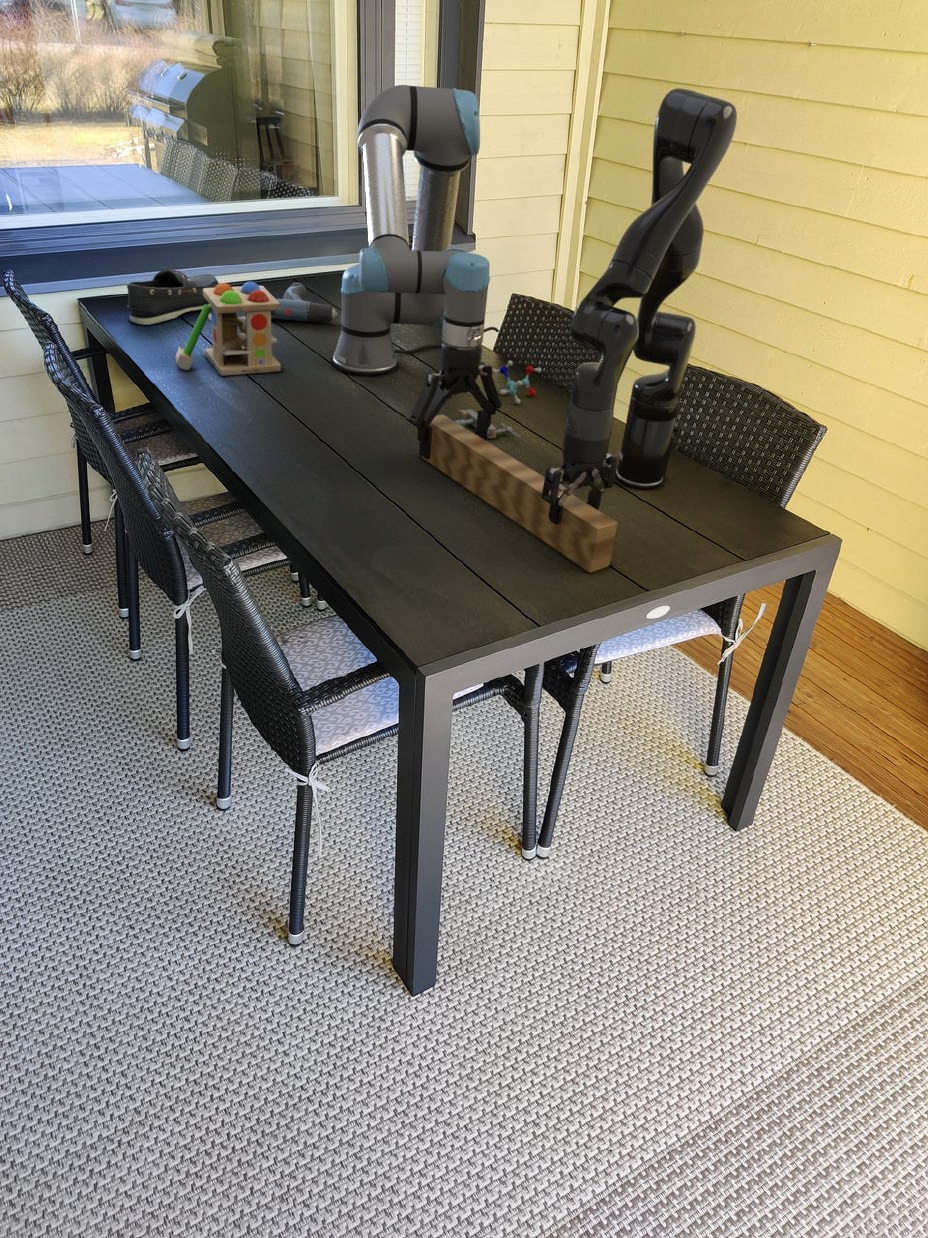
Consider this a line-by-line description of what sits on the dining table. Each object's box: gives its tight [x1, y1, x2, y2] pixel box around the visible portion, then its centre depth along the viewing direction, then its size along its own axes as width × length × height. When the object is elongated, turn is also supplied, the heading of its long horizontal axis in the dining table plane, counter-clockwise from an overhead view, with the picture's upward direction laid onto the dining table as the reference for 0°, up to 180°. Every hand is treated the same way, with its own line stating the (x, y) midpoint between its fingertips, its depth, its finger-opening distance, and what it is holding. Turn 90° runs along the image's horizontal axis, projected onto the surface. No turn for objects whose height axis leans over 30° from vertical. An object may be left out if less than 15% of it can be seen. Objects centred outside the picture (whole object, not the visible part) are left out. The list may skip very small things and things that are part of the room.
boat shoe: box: [126, 268, 220, 325], centre depth 258 cm, size 13×33×10 cm, turn 147°
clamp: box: [454, 408, 522, 440], centre depth 210 cm, size 15×2×10 cm
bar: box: [421, 414, 619, 574], centre depth 180 cm, size 50×5×8 cm, turn 37°
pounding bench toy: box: [174, 281, 282, 377], centre depth 225 cm, size 23×14×18 cm, turn 116°
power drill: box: [271, 282, 338, 322], centre depth 265 cm, size 5×19×20 cm
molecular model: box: [492, 360, 542, 405], centre depth 227 cm, size 12×10×10 cm
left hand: (453, 449), depth 192 cm, fingers open, 13 cm apart
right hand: (573, 516), depth 168 cm, fingers open, 8 cm apart
